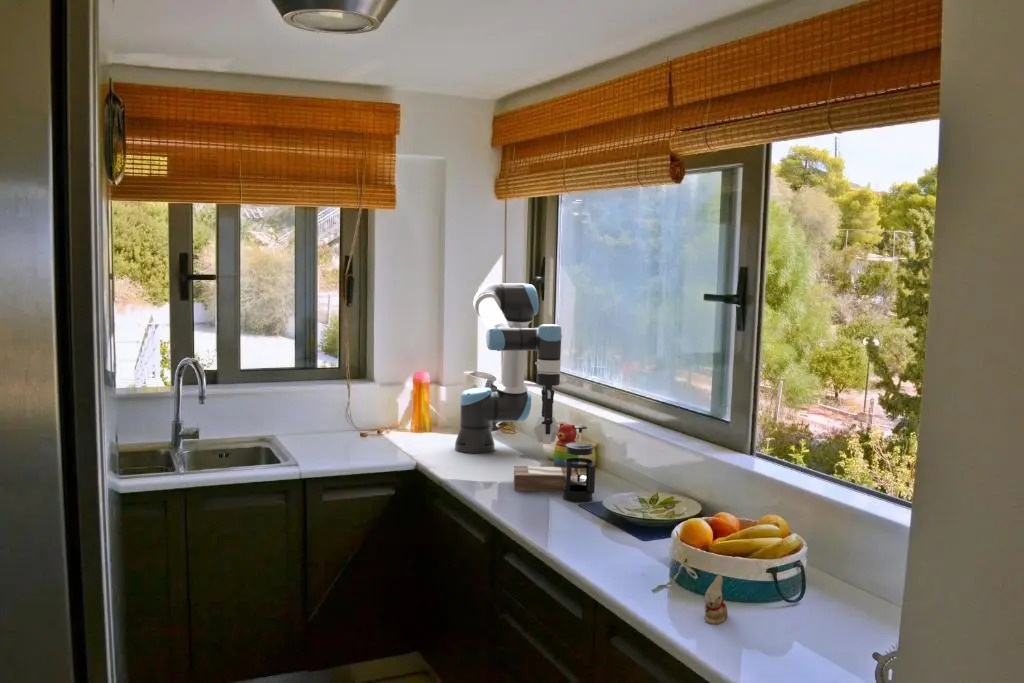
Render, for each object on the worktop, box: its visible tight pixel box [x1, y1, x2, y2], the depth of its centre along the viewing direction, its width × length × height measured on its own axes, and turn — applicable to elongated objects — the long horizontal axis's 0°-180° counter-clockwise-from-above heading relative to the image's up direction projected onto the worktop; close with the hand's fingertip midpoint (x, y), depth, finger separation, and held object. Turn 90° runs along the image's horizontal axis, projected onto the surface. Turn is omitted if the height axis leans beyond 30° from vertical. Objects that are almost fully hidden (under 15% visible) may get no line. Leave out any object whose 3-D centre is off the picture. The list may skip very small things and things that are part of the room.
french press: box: [562, 425, 596, 503], centre depth 282 cm, size 12×9×23 cm
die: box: [533, 416, 560, 443], centre depth 295 cm, size 8×9×10 cm
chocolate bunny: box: [703, 574, 728, 626], centre depth 194 cm, size 6×8×10 cm
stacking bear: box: [552, 423, 579, 475], centre depth 311 cm, size 11×10×18 cm
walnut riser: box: [513, 465, 578, 492], centre depth 297 cm, size 12×20×5 cm, turn 91°
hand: (546, 440), depth 295 cm, fingers closed on die, 9 cm apart
